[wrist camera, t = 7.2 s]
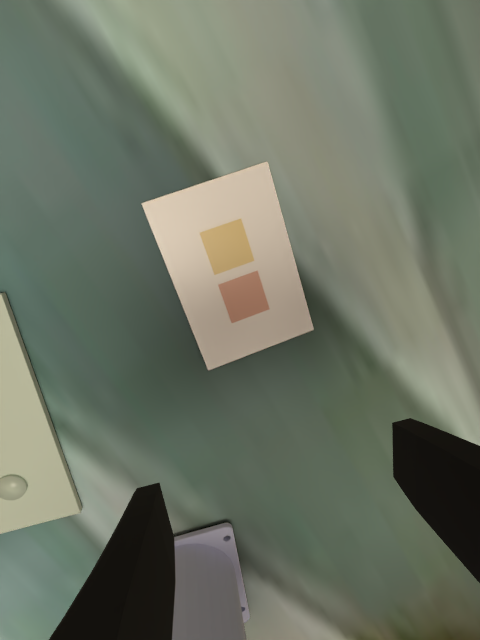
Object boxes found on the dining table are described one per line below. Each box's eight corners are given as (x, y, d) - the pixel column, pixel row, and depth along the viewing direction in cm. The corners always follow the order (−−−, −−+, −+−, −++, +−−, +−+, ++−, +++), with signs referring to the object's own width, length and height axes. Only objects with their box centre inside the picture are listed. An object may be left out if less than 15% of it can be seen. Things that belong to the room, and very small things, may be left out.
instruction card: (312, 328, 20) (314, 330, 19) (207, 369, 19) (208, 371, 19) (266, 162, 17) (267, 160, 17) (141, 203, 16) (141, 203, 16)
